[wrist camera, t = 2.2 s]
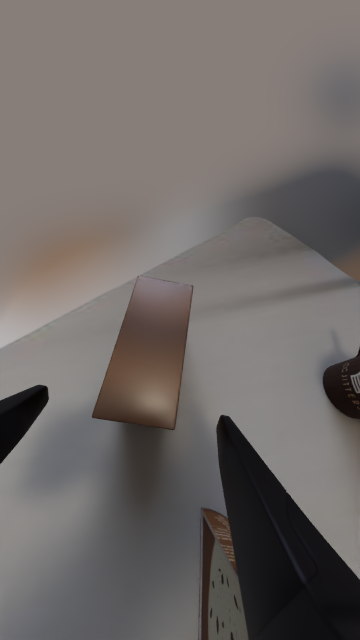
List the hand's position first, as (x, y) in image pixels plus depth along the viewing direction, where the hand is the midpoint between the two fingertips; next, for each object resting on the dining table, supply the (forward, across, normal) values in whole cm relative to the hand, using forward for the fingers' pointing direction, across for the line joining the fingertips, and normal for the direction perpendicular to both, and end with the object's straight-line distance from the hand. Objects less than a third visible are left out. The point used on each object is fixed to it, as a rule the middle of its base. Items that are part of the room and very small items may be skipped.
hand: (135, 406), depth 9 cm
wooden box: (+11, 0, +4) cm, 12 cm away
